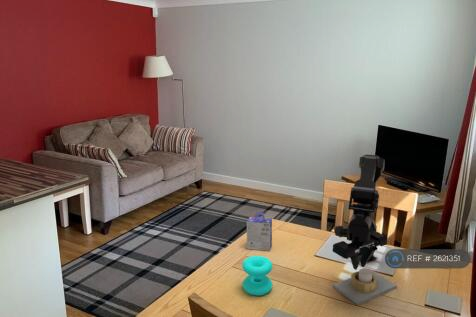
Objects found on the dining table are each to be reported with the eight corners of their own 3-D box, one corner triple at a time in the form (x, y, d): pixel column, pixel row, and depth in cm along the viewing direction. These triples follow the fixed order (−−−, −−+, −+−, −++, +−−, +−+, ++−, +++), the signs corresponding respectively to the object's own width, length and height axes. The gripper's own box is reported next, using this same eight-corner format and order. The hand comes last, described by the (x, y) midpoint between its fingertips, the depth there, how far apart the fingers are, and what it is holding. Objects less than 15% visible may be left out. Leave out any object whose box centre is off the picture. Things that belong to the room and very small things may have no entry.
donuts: (260, 251, 132) (278, 263, 124) (260, 276, 134) (278, 290, 126) (236, 259, 127) (253, 273, 119) (237, 285, 129) (253, 301, 121)
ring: (363, 277, 131) (364, 269, 131) (381, 288, 124) (382, 280, 124) (345, 283, 128) (346, 275, 127) (363, 295, 121) (364, 287, 120)
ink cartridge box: (272, 245, 157) (272, 212, 153) (270, 251, 152) (271, 217, 148) (248, 243, 159) (248, 210, 155) (246, 249, 154) (246, 216, 150)
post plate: (370, 272, 136) (372, 257, 134) (396, 288, 126) (398, 271, 125) (332, 287, 127) (333, 271, 126) (357, 305, 118) (358, 288, 117)
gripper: (363, 209, 130) (360, 250, 134) (321, 220, 122) (319, 264, 126) (390, 220, 121) (386, 264, 125) (347, 234, 112) (344, 280, 116)
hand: (358, 267), depth 123 cm, fingers open, 3 cm apart
